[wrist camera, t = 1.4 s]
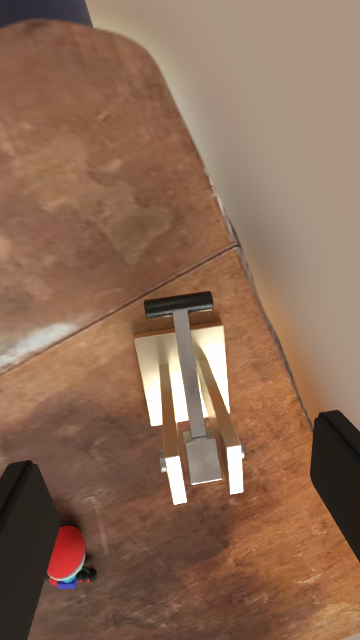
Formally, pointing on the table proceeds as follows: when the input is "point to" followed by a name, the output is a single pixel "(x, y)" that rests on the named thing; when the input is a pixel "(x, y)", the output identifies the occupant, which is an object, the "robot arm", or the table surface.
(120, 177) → the table surface
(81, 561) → the toy figure
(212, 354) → the bracket
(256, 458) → the table surface
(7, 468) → the robot arm
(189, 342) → the lever
